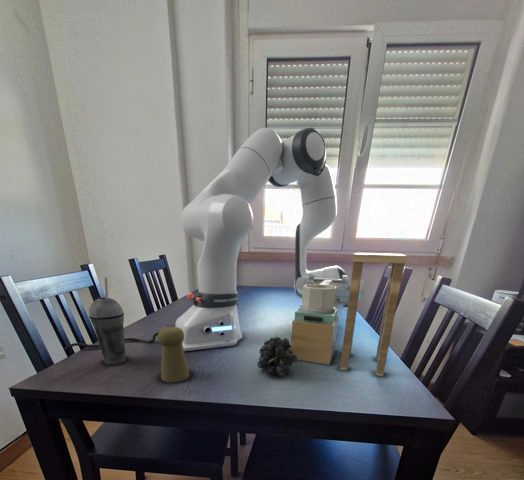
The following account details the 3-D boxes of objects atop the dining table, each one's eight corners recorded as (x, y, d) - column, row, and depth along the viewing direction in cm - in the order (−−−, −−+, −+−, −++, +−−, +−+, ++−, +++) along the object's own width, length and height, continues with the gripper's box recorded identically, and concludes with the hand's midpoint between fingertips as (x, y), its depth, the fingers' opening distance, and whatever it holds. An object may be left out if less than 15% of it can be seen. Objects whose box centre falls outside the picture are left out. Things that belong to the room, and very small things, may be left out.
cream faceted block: (331, 311, 66) (334, 289, 64) (299, 308, 69) (300, 287, 67) (340, 298, 83) (342, 280, 81) (313, 296, 85) (315, 278, 83)
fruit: (268, 321, 71) (265, 339, 57) (299, 332, 72) (303, 353, 58) (257, 351, 74) (251, 375, 60) (286, 362, 75) (287, 388, 61)
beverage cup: (94, 360, 69) (76, 277, 62) (124, 353, 74) (110, 275, 67) (105, 369, 65) (87, 280, 57) (136, 360, 70) (123, 278, 62)
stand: (384, 376, 63) (407, 255, 54) (338, 369, 67) (353, 254, 57) (383, 358, 74) (402, 253, 64) (343, 353, 77) (356, 252, 68)
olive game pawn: (155, 379, 60) (148, 330, 56) (171, 368, 66) (166, 323, 62) (179, 384, 59) (174, 333, 55) (194, 372, 64) (190, 325, 60)
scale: (329, 364, 69) (335, 313, 65) (290, 358, 73) (293, 309, 68) (334, 351, 78) (340, 304, 73) (299, 346, 81) (302, 301, 77)
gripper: (301, 283, 96) (293, 265, 83) (364, 288, 89) (366, 268, 76) (298, 301, 95) (289, 285, 82) (361, 307, 88) (363, 290, 75)
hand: (327, 277), depth 79 cm, fingers open, 8 cm apart
